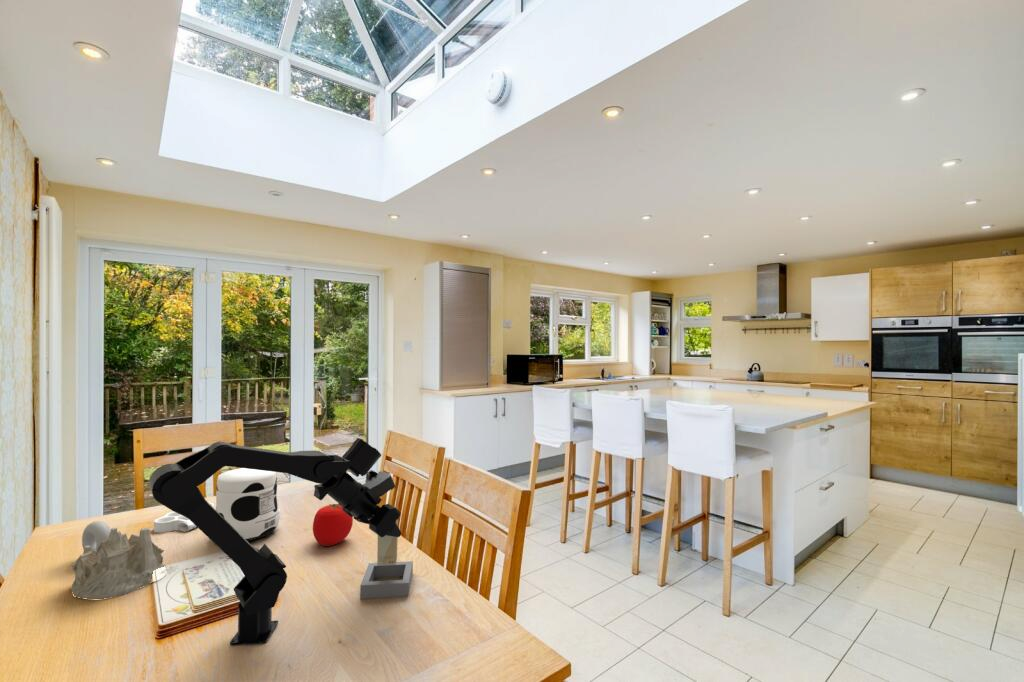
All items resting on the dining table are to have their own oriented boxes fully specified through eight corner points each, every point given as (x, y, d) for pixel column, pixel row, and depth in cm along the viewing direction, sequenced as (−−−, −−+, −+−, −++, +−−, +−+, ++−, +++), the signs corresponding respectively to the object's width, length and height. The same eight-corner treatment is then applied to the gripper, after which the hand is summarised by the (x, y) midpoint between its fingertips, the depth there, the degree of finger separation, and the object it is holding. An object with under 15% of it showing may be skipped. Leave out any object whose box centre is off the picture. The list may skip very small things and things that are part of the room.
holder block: (408, 596, 105) (408, 582, 105) (360, 598, 104) (360, 585, 104) (412, 573, 115) (412, 561, 115) (368, 575, 114) (368, 563, 114)
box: (396, 565, 107) (397, 516, 107) (376, 566, 106) (377, 517, 107) (397, 555, 112) (398, 508, 113) (378, 556, 112) (379, 509, 112)
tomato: (303, 548, 129) (303, 508, 129) (327, 533, 139) (327, 496, 139) (337, 552, 127) (337, 512, 127) (358, 536, 137) (359, 499, 137)
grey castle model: (175, 575, 113) (171, 513, 113) (86, 610, 99) (82, 539, 99) (148, 563, 121) (144, 505, 122) (62, 593, 108) (59, 528, 108)
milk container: (219, 527, 143) (220, 468, 143) (282, 520, 149) (283, 463, 149) (204, 551, 127) (205, 484, 127) (276, 542, 133) (277, 478, 133)
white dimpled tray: (178, 537, 136) (142, 531, 141) (232, 516, 153) (198, 511, 158) (178, 526, 136) (142, 520, 141) (232, 505, 153) (198, 500, 158)
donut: (78, 559, 121) (79, 520, 121) (94, 553, 125) (95, 516, 125) (100, 566, 117) (100, 526, 117) (116, 561, 121) (116, 522, 121)
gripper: (393, 471, 100) (436, 512, 107) (356, 455, 114) (396, 492, 121) (356, 516, 95) (404, 556, 102) (322, 494, 109) (366, 530, 116)
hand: (393, 530), depth 110 cm, fingers closed on box, 6 cm apart
